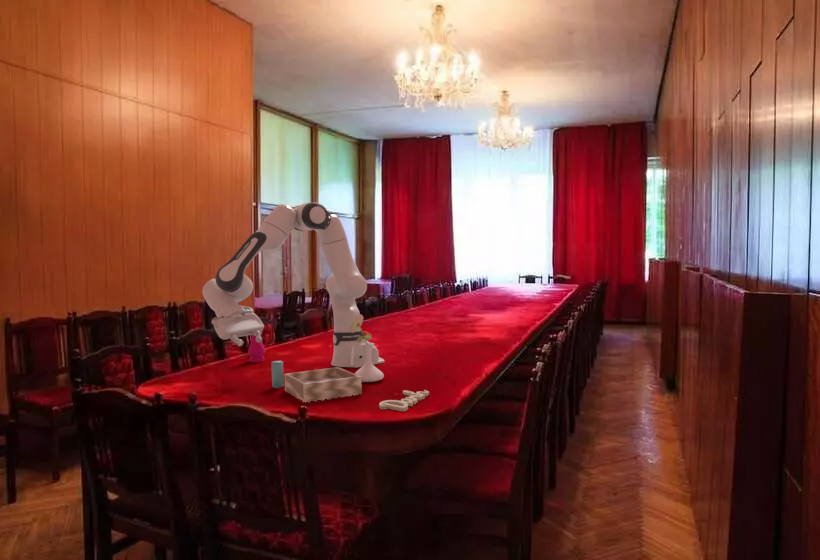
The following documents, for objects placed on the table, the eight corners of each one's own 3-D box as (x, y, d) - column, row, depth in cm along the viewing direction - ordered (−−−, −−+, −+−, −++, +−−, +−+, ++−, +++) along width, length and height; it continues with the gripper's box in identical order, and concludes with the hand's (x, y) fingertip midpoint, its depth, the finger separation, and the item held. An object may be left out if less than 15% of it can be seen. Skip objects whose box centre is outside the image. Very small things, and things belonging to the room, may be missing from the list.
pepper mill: (261, 362, 268) (259, 317, 267) (245, 362, 269) (244, 317, 268) (268, 359, 275) (266, 315, 274) (253, 359, 277) (251, 315, 276)
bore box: (338, 383, 223) (337, 367, 222) (361, 394, 205) (361, 376, 205) (285, 391, 213) (284, 373, 212) (304, 402, 195) (304, 384, 195)
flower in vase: (370, 376, 233) (368, 311, 232) (390, 380, 225) (388, 312, 224) (343, 382, 224) (341, 314, 223) (363, 386, 216) (361, 316, 215)
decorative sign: (404, 407, 182) (374, 405, 186) (404, 413, 182) (375, 410, 186) (433, 390, 203) (406, 388, 207) (433, 395, 203) (406, 393, 207)
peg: (281, 385, 222) (280, 360, 222) (285, 387, 219) (284, 362, 218) (270, 386, 220) (270, 361, 220) (274, 388, 217) (273, 363, 216)
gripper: (213, 312, 219) (233, 341, 215) (254, 307, 237) (274, 333, 233) (205, 324, 222) (225, 353, 217) (246, 318, 240) (266, 344, 235)
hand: (251, 343), depth 225 cm, fingers open, 8 cm apart
